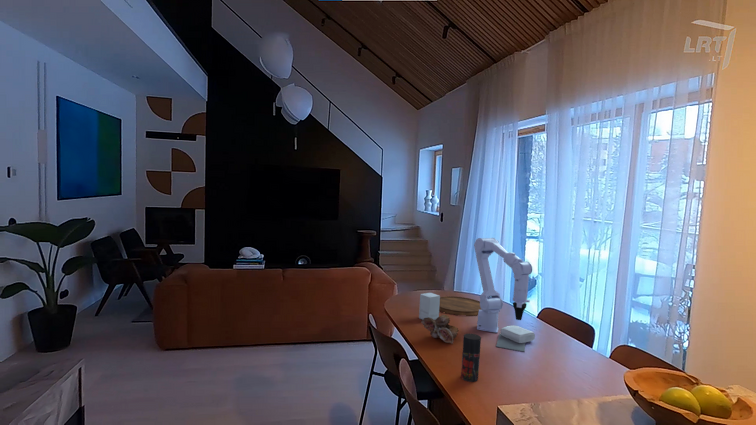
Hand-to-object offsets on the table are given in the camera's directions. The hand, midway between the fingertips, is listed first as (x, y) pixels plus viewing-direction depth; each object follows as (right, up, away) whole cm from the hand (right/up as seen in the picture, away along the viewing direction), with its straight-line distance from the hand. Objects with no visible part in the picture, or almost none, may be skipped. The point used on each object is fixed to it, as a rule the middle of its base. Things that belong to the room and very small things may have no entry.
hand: (518, 319), depth 182 cm
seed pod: (-34, -9, 0) cm, 35 cm away
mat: (-3, -10, 0) cm, 11 cm away
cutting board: (-16, -7, +52) cm, 55 cm away
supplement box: (-36, -7, +27) cm, 46 cm away
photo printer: (+4, -8, -1) cm, 9 cm away
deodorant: (-30, -11, -36) cm, 48 cm away
